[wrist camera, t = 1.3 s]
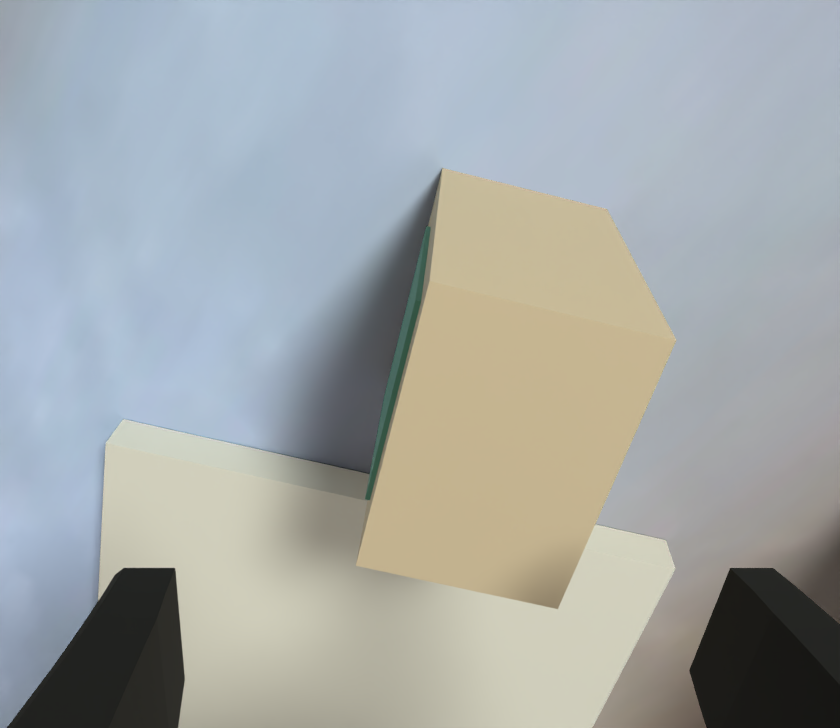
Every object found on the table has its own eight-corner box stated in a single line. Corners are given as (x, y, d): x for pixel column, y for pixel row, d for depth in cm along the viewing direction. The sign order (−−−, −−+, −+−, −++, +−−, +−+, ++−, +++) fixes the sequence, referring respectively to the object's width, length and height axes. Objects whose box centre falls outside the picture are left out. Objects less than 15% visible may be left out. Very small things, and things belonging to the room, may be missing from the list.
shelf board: (665, 540, 23) (697, 635, 20) (524, 821, 30) (530, 926, 26) (123, 419, 22) (65, 498, 19) (103, 738, 29) (58, 837, 26)
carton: (606, 209, 18) (676, 340, 12) (531, 417, 21) (557, 609, 15) (438, 166, 18) (423, 279, 12) (385, 383, 21) (350, 564, 15)
